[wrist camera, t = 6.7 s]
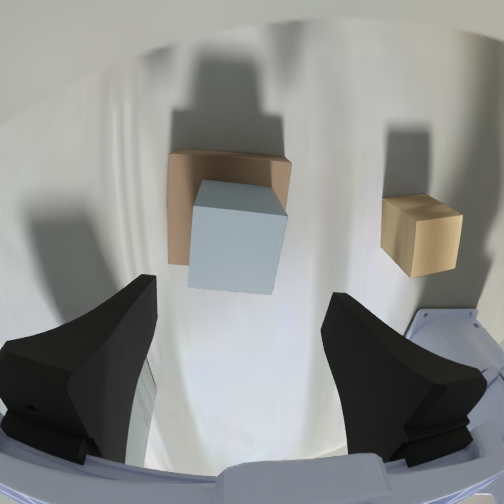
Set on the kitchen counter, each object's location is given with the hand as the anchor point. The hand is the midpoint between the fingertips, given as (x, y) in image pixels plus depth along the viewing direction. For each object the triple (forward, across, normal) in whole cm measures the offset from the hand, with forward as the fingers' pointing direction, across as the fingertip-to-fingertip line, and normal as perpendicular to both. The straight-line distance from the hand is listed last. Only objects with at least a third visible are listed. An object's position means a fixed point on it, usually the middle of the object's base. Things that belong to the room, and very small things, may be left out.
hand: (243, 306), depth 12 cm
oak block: (+10, -12, -2) cm, 16 cm away
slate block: (+7, +1, -1) cm, 7 cm away
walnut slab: (+10, +1, -1) cm, 10 cm away
